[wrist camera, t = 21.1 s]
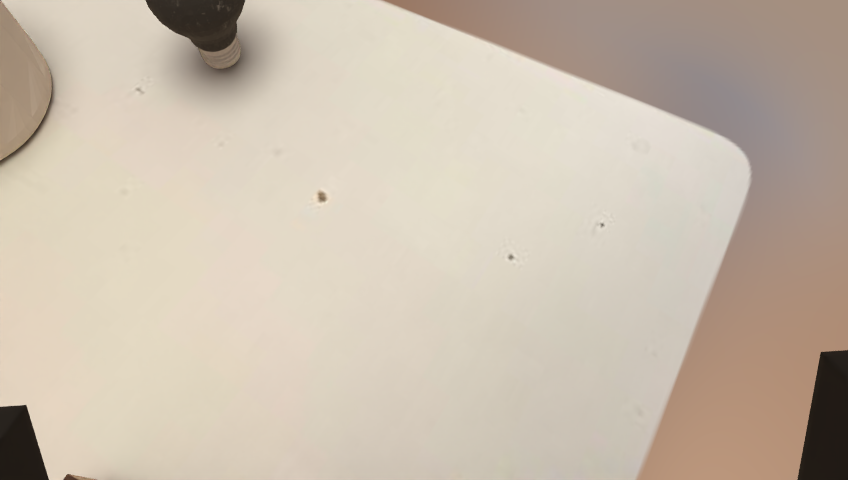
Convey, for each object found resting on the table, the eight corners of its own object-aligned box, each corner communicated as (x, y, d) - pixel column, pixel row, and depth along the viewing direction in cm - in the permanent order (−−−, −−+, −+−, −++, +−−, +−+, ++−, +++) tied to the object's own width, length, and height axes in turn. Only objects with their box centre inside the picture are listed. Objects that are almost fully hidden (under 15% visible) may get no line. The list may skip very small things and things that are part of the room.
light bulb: (166, 82, 48) (105, -29, 39) (205, 15, 50) (155, -106, 41) (246, 108, 47) (203, 1, 38) (282, 38, 49) (250, -79, 40)
